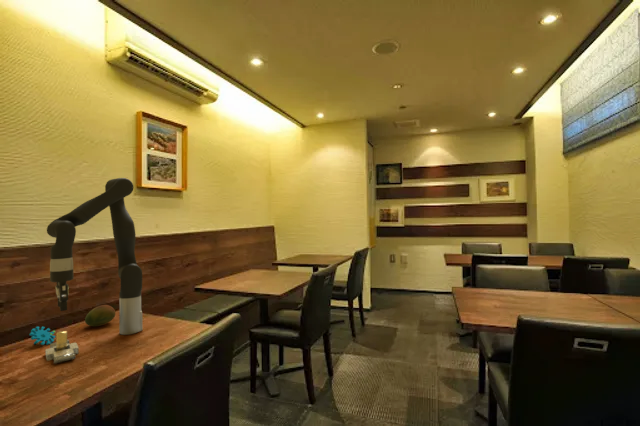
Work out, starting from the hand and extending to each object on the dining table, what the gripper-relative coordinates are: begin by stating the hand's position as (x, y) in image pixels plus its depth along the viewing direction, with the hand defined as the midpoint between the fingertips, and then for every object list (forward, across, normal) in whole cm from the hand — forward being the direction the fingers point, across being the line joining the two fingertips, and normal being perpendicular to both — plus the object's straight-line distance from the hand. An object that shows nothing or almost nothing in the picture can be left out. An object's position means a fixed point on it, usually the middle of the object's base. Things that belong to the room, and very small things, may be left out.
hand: (62, 308), depth 132 cm
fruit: (+19, +32, -18) cm, 41 cm away
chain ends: (+19, 0, 0) cm, 19 cm away
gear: (+19, +21, +5) cm, 29 cm away
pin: (+19, 0, 0) cm, 19 cm away
